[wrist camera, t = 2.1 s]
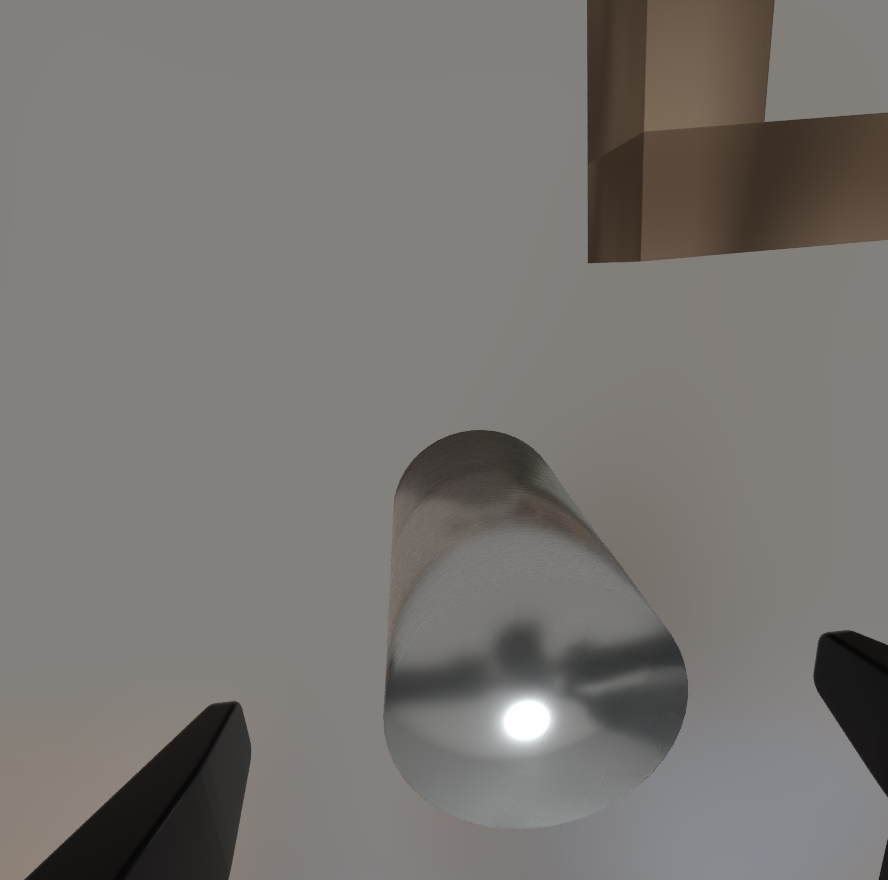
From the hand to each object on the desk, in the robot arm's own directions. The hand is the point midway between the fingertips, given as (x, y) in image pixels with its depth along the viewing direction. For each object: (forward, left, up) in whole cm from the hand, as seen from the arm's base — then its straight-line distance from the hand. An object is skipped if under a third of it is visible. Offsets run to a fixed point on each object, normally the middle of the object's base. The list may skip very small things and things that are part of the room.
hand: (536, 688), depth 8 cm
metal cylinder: (0, 0, -6) cm, 6 cm away
